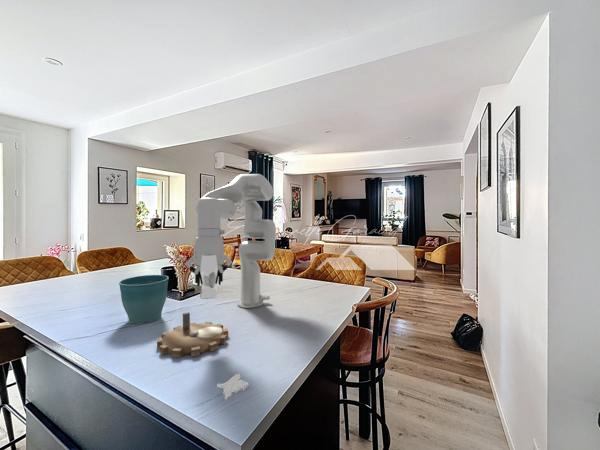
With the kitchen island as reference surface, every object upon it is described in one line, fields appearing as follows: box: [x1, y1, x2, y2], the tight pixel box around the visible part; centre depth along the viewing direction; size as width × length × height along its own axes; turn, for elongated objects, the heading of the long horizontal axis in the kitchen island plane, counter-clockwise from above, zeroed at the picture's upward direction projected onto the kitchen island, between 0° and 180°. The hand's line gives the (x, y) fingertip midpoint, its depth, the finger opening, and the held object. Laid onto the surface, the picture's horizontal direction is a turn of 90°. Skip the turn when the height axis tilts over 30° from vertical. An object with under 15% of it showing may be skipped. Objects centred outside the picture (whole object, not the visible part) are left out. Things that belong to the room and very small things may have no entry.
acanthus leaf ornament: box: [216, 372, 249, 400], centre depth 69 cm, size 8×7×2 cm
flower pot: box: [118, 274, 169, 325], centre depth 114 cm, size 18×18×17 cm
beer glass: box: [199, 255, 219, 300], centre depth 95 cm, size 7×7×15 cm
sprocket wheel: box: [156, 311, 229, 358], centre depth 94 cm, size 23×23×8 cm
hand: (209, 284), depth 95 cm, fingers closed on beer glass, 6 cm apart
